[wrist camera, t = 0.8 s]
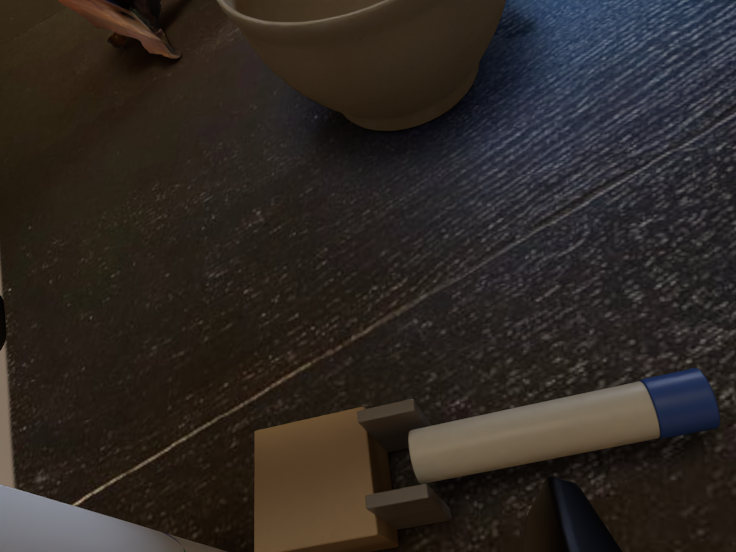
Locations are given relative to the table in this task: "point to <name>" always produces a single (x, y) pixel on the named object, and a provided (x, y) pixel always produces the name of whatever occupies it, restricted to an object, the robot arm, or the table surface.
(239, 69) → the table surface
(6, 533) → the tube
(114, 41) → the figurine
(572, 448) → the marker
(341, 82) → the planter bowl
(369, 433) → the tan block with prongs
